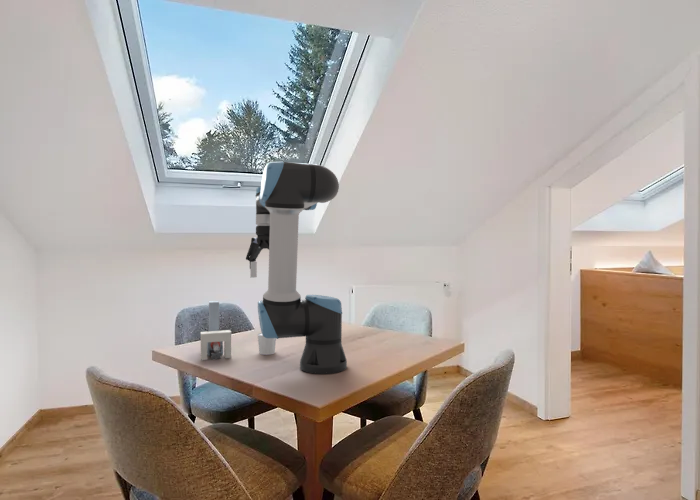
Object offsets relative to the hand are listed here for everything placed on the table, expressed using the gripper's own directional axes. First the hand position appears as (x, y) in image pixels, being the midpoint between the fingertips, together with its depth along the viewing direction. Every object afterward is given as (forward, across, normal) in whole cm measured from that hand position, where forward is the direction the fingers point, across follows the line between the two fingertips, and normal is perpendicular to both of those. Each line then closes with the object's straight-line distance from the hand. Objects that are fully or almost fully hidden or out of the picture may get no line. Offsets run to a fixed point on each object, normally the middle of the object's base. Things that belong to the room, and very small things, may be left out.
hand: (265, 278), depth 176 cm
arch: (+26, -3, +27) cm, 38 cm away
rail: (+26, +5, +21) cm, 34 cm away
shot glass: (+27, -13, +11) cm, 32 cm away
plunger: (+24, -4, +28) cm, 37 cm away
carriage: (+26, +4, +22) cm, 34 cm away
